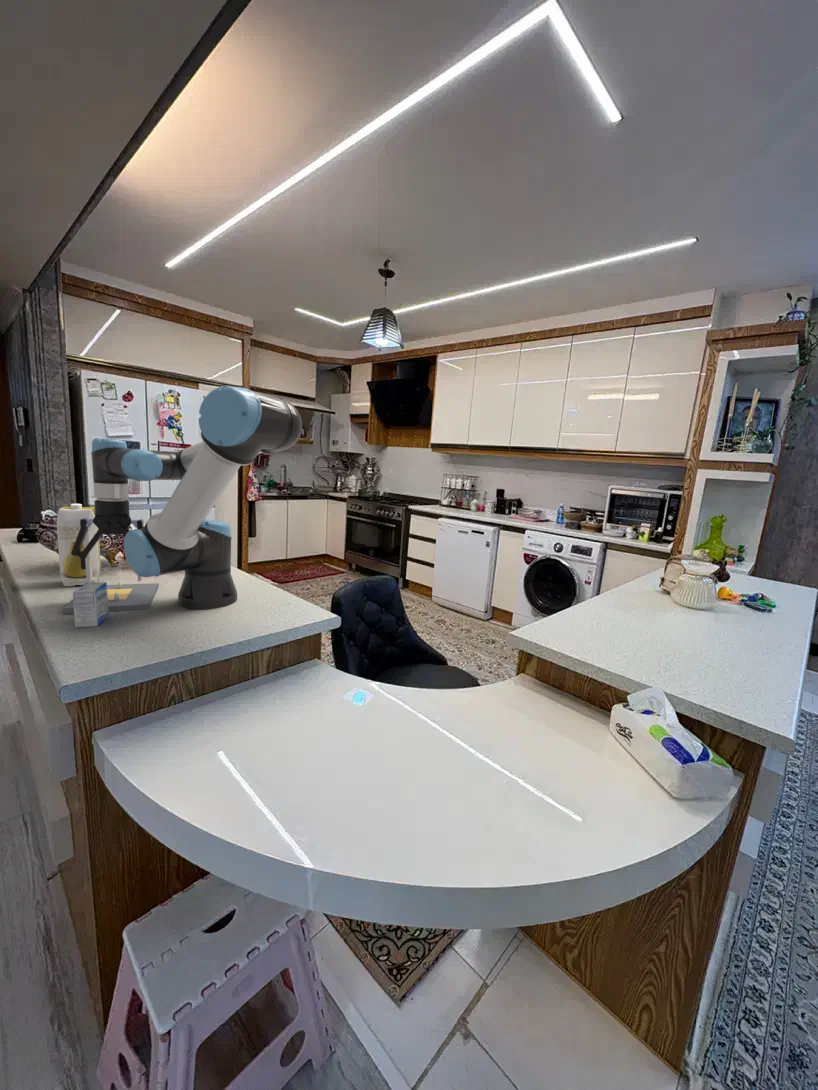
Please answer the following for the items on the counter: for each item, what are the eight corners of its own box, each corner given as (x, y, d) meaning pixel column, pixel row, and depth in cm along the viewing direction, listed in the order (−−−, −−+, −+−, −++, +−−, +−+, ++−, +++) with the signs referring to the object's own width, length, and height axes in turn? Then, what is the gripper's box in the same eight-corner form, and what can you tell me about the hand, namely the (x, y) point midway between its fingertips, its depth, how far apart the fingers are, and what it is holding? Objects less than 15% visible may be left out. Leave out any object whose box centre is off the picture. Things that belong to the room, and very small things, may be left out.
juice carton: (59, 588, 125) (53, 504, 121) (64, 580, 132) (59, 501, 127) (99, 585, 129) (95, 505, 125) (102, 578, 136) (98, 502, 132)
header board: (158, 588, 132) (158, 576, 131) (148, 609, 114) (148, 597, 113) (86, 590, 125) (85, 578, 124) (64, 614, 107) (63, 600, 106)
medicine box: (97, 627, 101) (95, 591, 99) (74, 628, 99) (72, 591, 98) (109, 615, 108) (107, 581, 107) (87, 616, 107) (85, 581, 105)
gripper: (164, 499, 122) (166, 575, 126) (61, 496, 113) (66, 578, 117) (161, 502, 115) (162, 582, 119) (51, 498, 106) (57, 585, 110)
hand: (115, 580), depth 118 cm, fingers open, 11 cm apart
